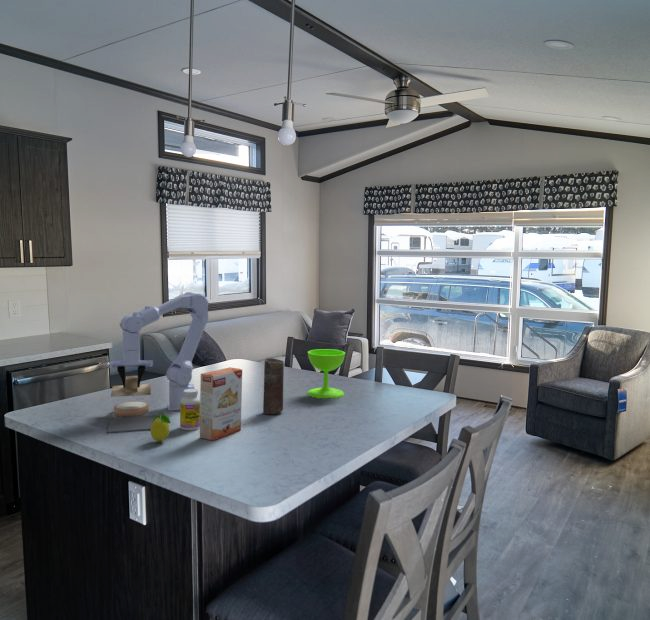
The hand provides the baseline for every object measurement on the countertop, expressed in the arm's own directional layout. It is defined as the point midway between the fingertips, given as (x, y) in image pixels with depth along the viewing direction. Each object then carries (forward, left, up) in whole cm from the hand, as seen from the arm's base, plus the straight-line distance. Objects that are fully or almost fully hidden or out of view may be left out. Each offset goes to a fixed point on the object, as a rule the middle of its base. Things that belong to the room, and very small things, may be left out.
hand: (131, 386), depth 196 cm
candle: (-50, +9, -11) cm, 52 cm away
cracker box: (-28, +29, -11) cm, 41 cm away
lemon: (-9, +32, -11) cm, 34 cm away
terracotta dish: (0, -4, -10) cm, 11 cm away
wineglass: (-78, -14, -11) cm, 80 cm away
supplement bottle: (-19, +20, -11) cm, 29 cm away
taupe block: (0, 0, -2) cm, 2 cm away
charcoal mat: (-1, +11, -10) cm, 15 cm away
